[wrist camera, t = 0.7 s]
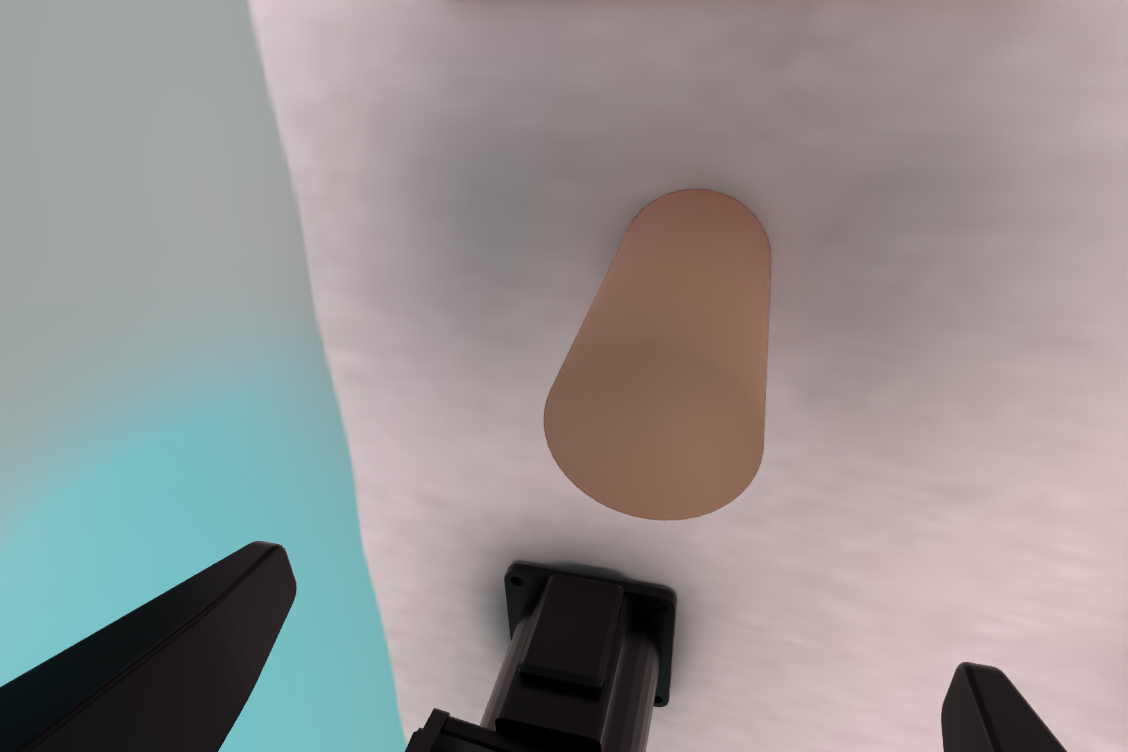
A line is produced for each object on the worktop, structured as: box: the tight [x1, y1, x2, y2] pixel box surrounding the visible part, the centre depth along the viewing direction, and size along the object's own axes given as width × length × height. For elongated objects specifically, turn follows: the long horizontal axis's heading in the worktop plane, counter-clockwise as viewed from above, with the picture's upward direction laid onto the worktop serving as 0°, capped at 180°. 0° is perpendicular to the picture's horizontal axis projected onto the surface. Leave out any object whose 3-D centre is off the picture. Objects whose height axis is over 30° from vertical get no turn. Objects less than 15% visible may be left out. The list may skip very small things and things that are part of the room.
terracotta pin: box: [544, 189, 771, 520], centre depth 16 cm, size 4×4×8 cm
